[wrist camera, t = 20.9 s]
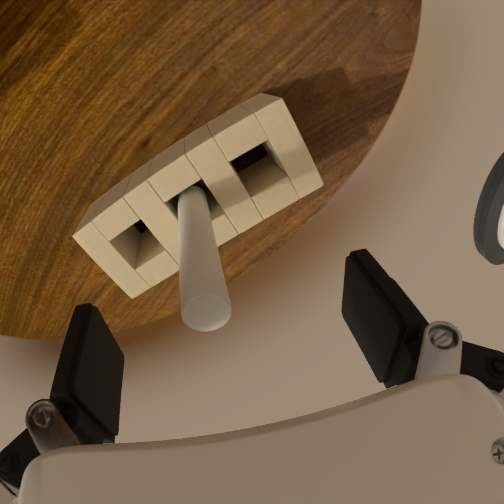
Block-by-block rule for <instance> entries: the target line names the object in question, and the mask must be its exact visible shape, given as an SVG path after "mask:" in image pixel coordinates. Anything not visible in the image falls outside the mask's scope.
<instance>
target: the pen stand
mask: <svg viewBox="0 0 504 504" xmlns="http://www.w3.org/2000/svg"><path fill="white" fill-rule="evenodd" d="M259 144H262V146H263V147H264V149H265V151H266V153H267V155H268V156H265V157H263V158H262V159H260V160H258V161H256V162H255V163H253V164H251V165H250V166H248V167H246V168H244V169H243V170H241V171H239V172H238V173H237V172H236V170H235V168H234V167H233V165H232V163H231V162H230V161H232V160H234V159H235V158H237V157H239V156H240V155H242V154H244V153H245V152H247V151H249V150H251V149H252V148H254V147H256V146H258V145H259ZM201 178H202V179H203V181H204V182H205V184H206V185H207V187H208V188H209V190H208V191H206V198H207V203H208V208H209V212H210V217H211V221H212V226H213V230H214V235H215V239H216V244H217V247H218V246H220V245H222V244H223V243H225V242H227V241H228V240H230V239H232V238H234V237H235V236H237V235H238V234H241V233H242V232H244V231H246V230H247V229H249V228H251V227H252V226H254V225H256V224H258V223H259V222H261V221H263V220H264V219H266V218H268V217H269V216H271V215H273V214H274V213H276V212H278V211H280V210H281V209H283V208H285V207H286V206H288V205H290V204H292V203H293V202H295V201H297V200H299V198H300V199H301V198H302V197H304V196H306V195H308V194H309V193H311V192H313V191H315V190H316V189H318V188H320V187H322V186H323V185H324V183H323V181H322V179H321V177H320V174H319V172H318V170H317V168H316V166H315V163H314V161H313V159H312V157H311V155H310V153H309V151H308V149H307V146H306V144H305V142H304V140H303V138H302V136H301V134H300V132H299V130H298V128H297V126H296V124H295V122H294V120H293V118H292V116H291V114H290V112H289V110H288V108H287V106H286V104H285V102H284V101H283V99H282V98H280V97H276V96H272V95H269V94H265V93H259V94H257V95H255V96H253V97H252V98H250V99H248V100H246V101H244V102H242V103H240V104H239V105H237V106H235V107H233V108H232V109H230V110H228V111H226V112H225V113H223V114H221V115H219V116H218V117H216V118H214V119H213V120H211V121H209V122H208V123H207V124H204V125H203V126H201V127H199V128H198V129H196V130H195V131H193V132H191V133H190V134H188V135H187V136H185V138H182V139H180V140H179V141H177V142H176V143H174V144H173V145H171V146H170V147H168V148H167V149H165V150H164V151H162V152H161V153H159V154H158V155H156V156H155V157H154V158H152V159H150V160H149V161H148V162H146V163H145V164H143V165H142V166H140V167H139V168H138V169H136V170H135V171H134V172H132V173H131V174H129V175H128V176H126V177H125V178H124V179H122V180H121V181H120V182H118V183H117V184H116V185H114V186H113V187H112V188H111V189H109V190H108V191H107V192H105V193H104V194H103V195H102V196H100V197H99V198H98V199H96V200H95V201H94V202H93V203H91V204H90V206H89V207H88V209H87V211H86V213H85V214H84V216H83V218H82V219H81V221H80V223H79V225H78V227H77V228H76V230H75V232H74V234H73V236H72V237H73V238H74V239H75V240H76V241H77V242H78V244H79V245H80V246H81V247H82V248H83V249H84V250H85V251H86V252H87V253H88V254H89V256H90V257H91V258H92V259H93V260H94V261H95V262H96V263H97V264H98V265H99V266H100V267H101V268H102V269H103V270H104V271H105V272H106V273H107V274H108V275H109V276H110V277H111V279H112V280H113V281H114V282H115V283H116V284H117V285H118V286H119V287H120V288H121V289H122V290H123V291H124V292H125V293H127V294H128V295H129V296H130V297H131V298H132V299H133V298H135V297H137V296H138V295H140V294H141V293H143V292H145V291H146V290H148V289H149V288H151V287H153V286H154V285H156V284H158V283H159V282H161V281H163V280H164V279H166V278H167V277H169V276H171V275H172V274H174V273H176V272H177V271H179V249H178V194H179V193H180V192H182V191H183V190H185V189H186V188H188V187H189V186H191V185H193V184H194V183H196V182H197V181H199V180H201ZM140 219H141V220H142V221H143V222H144V224H145V225H146V226H147V227H148V228H149V229H147V230H146V231H144V232H143V233H142V234H141V233H140V232H139V231H138V229H137V228H136V227H135V226H134V225H133V224H134V223H136V222H137V221H139V220H140Z"/></svg>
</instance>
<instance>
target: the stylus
mask: <svg viewBox="0 0 504 504" xmlns="http://www.w3.org/2000/svg"><path fill="white" fill-rule="evenodd" d="M178 249H179V281H180V302H181V317H182V319H183V321H184V323H185V324H186V325H187V326H189V327H190V328H192V329H194V330H198V331H212V330H215V329H218V328H220V327H222V326H223V325H224V324H226V323H227V321H228V320H229V318H230V316H231V313H232V309H231V304H230V300H229V296H228V292H227V287H226V283H225V279H224V275H223V270H222V266H221V262H220V257H219V253H218V248H217V244H216V239H215V235H214V230H213V226H212V221H211V217H210V212H209V208H208V203H207V198H206V192H205V189H204V184H203V180H202V178H201V180H199V181H197V182H196V183H194V184H193V185H191V186H189V187H188V188H186V189H185V190H183V191H182V192H180V193H179V194H178Z"/></svg>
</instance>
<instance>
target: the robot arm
mask: <svg viewBox="0 0 504 504" xmlns="http://www.w3.org/2000/svg"><path fill="white" fill-rule="evenodd" d="M497 235H498V242H499V244H500V246H501V247H502V248H503V249H504V204H503V207H502V209H501V213H500V217H499V222H498V230H497ZM342 315H343V318H344V320H345V321H346V323H347V325H348V327H349V329H350V330H351V332H352V334H353V336H354V337H355V339H356V341H357V343H358V345H359V347H360V348H361V350H362V352H363V354H364V356H365V358H366V359H367V361H368V363H369V365H370V367H371V369H372V371H373V372H374V374H375V376H376V378H377V380H378V381H379V382H380V383H382V382H383V383H384V385H385V387H386V388H389V389H387V390H384V391H381V392H378V393H376V394H373V395H370V396H367V397H364V398H361V399H358V400H354V401H351V402H348V403H345V404H342V405H339V406H335V407H332V408H329V409H325V410H322V411H319V412H315V413H311V414H308V415H304V416H300V417H296V418H292V419H288V420H284V421H280V422H276V423H272V424H266V425H262V426H257V427H252V428H247V429H242V430H236V431H231V432H225V433H219V434H213V435H205V436H198V437H191V438H182V439H173V440H163V441H151V442H136V443H118V444H103V443H115V436H116V435H118V431H119V414H120V401H121V388H122V379H123V369H124V356H123V353H122V351H121V349H120V347H119V346H118V344H117V342H116V341H115V339H114V337H113V335H112V334H111V332H110V330H109V328H108V326H107V325H106V323H105V321H104V319H103V317H102V315H101V313H100V312H99V310H98V308H97V307H96V306H93V305H92V304H91V303H87V304H81V305H77V306H76V307H75V310H74V313H73V315H72V319H71V322H70V325H69V328H68V331H67V334H66V337H65V341H64V344H63V347H62V351H61V354H60V358H59V361H58V365H57V369H56V373H55V376H54V381H53V384H52V389H51V393H50V398H49V399H41V400H38V401H36V402H34V403H33V404H32V405H31V406H30V408H29V409H28V411H27V414H26V419H25V422H26V426H27V428H26V429H25V430H24V431H23V432H22V433H21V434H20V435H19V436H18V437H16V438H15V439H14V440H13V441H12V442H11V443H10V444H9V445H8V446H7V447H5V448H4V449H3V450H2V451H1V452H0V504H504V353H502V352H500V351H497V350H493V349H489V348H486V347H482V346H479V345H475V344H472V343H468V342H465V341H462V335H461V333H460V331H459V330H458V329H457V328H456V327H455V326H454V325H452V324H451V323H448V322H445V321H435V322H432V323H430V324H429V323H428V322H427V321H426V319H425V318H424V317H423V315H422V314H421V313H420V311H419V310H418V309H417V308H416V306H415V305H414V304H413V303H412V301H411V300H410V299H409V297H407V295H406V294H405V293H404V292H403V290H402V289H401V288H400V286H399V285H398V284H397V283H396V281H395V280H393V279H392V278H390V277H389V275H388V274H387V273H386V272H385V270H384V269H383V268H382V267H381V266H380V265H379V263H378V262H377V261H376V260H375V259H374V258H373V256H372V255H371V254H370V253H369V252H368V251H367V250H366V249H361V250H356V251H352V252H350V255H349V256H347V257H346V262H345V276H344V288H343V299H342ZM395 385H397V386H395ZM393 386H395V387H393ZM390 387H392V388H390Z"/></svg>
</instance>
